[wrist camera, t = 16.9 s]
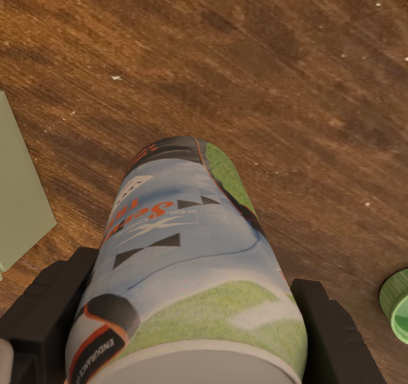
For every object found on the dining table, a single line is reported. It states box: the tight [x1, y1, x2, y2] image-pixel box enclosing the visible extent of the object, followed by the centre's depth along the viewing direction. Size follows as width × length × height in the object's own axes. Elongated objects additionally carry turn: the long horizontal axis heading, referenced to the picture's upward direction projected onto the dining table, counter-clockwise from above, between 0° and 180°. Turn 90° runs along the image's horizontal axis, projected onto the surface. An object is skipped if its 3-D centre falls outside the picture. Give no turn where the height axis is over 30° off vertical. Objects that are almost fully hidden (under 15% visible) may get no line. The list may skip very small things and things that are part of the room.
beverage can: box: [65, 136, 308, 384], centre depth 12 cm, size 6×7×12 cm
